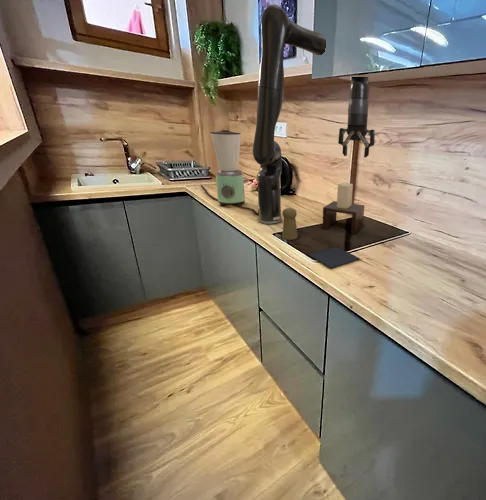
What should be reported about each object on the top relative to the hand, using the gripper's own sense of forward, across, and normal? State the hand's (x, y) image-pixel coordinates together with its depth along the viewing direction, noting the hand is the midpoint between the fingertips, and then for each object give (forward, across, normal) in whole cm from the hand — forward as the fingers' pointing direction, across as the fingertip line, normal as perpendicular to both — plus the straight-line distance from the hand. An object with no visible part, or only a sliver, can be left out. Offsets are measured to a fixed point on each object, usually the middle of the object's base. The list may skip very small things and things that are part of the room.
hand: (355, 156), depth 122 cm
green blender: (+28, +65, -3) cm, 71 cm away
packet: (+19, +2, +6) cm, 20 cm away
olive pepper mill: (+28, +16, +26) cm, 42 cm away
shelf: (+28, +2, +6) cm, 29 cm away
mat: (+28, -6, +37) cm, 47 cm away
